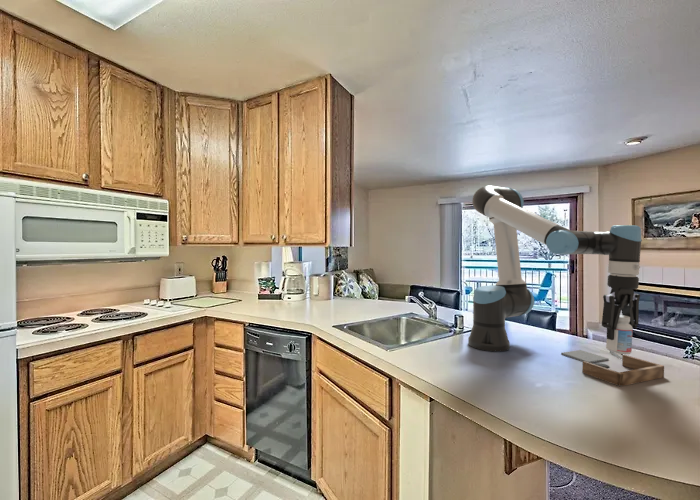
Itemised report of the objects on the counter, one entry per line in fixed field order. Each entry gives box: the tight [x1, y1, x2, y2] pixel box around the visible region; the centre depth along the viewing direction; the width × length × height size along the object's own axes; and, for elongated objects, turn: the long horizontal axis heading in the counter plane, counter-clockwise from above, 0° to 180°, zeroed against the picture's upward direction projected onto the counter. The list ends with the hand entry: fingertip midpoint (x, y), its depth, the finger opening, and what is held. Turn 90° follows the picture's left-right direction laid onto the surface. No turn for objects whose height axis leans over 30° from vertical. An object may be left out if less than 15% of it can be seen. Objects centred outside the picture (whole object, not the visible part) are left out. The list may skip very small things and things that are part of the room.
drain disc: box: [594, 362, 610, 369], centre depth 113 cm, size 4×4×1 cm
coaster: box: [560, 349, 610, 364], centre depth 122 cm, size 10×10×1 cm
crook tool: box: [609, 351, 623, 360], centre depth 120 cm, size 4×13×1 cm, turn 169°
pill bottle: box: [607, 314, 634, 355], centre depth 106 cm, size 6×6×11 cm
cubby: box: [581, 354, 665, 387], centre depth 106 cm, size 20×11×4 cm, turn 110°
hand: (618, 348), depth 107 cm, fingers closed on pill bottle, 6 cm apart
